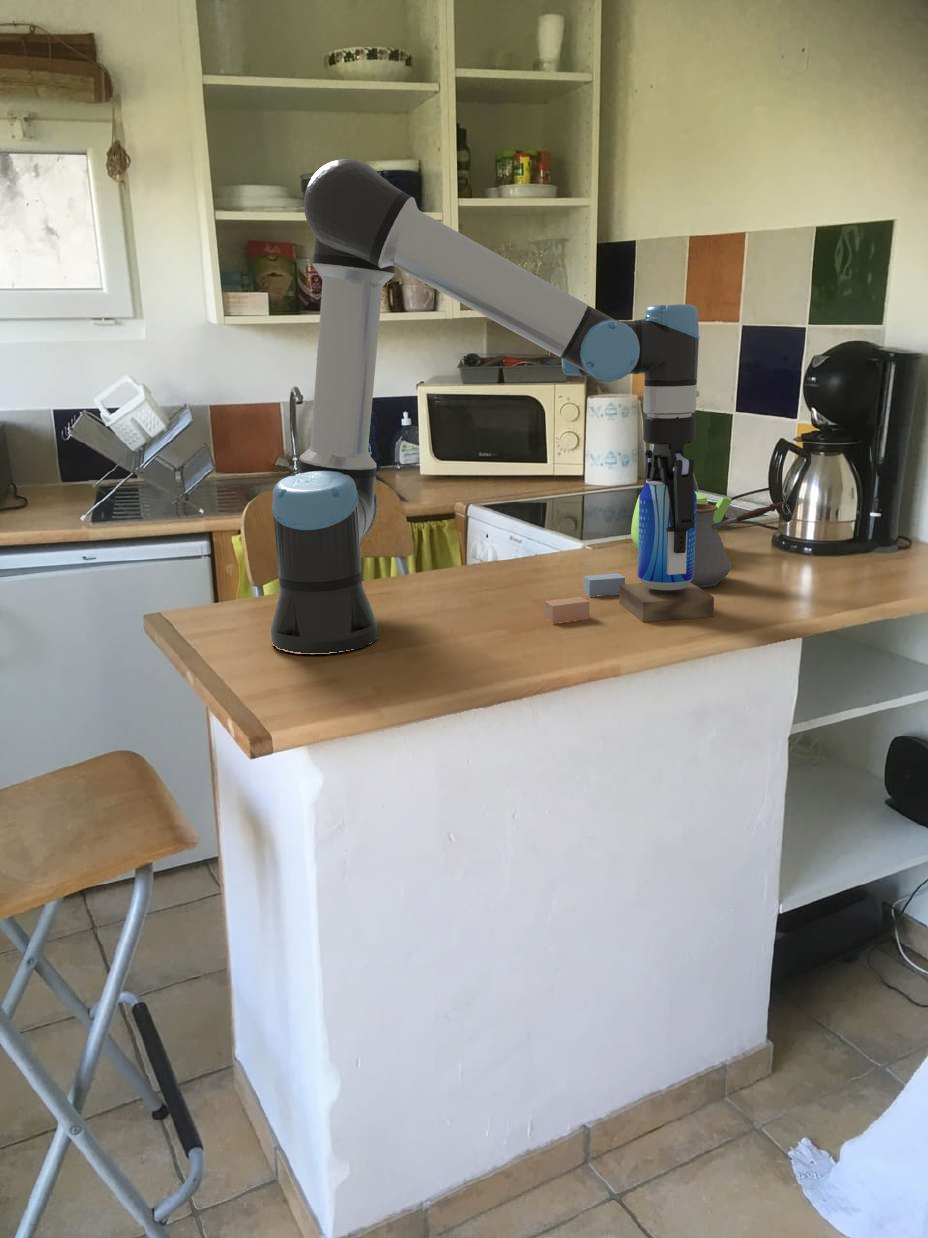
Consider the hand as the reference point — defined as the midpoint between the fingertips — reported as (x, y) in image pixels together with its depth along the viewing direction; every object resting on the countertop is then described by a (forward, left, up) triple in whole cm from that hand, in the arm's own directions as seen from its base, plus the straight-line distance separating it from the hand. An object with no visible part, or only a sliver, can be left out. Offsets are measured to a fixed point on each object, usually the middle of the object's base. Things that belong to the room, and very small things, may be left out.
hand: (665, 566), depth 155 cm
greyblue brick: (-6, +12, -7) cm, 15 cm away
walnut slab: (0, 0, -7) cm, 7 cm away
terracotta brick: (-16, -1, -7) cm, 17 cm away
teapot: (+17, +37, -7) cm, 41 cm away
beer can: (0, 0, -3) cm, 3 cm away
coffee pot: (+14, +11, -7) cm, 19 cm away
